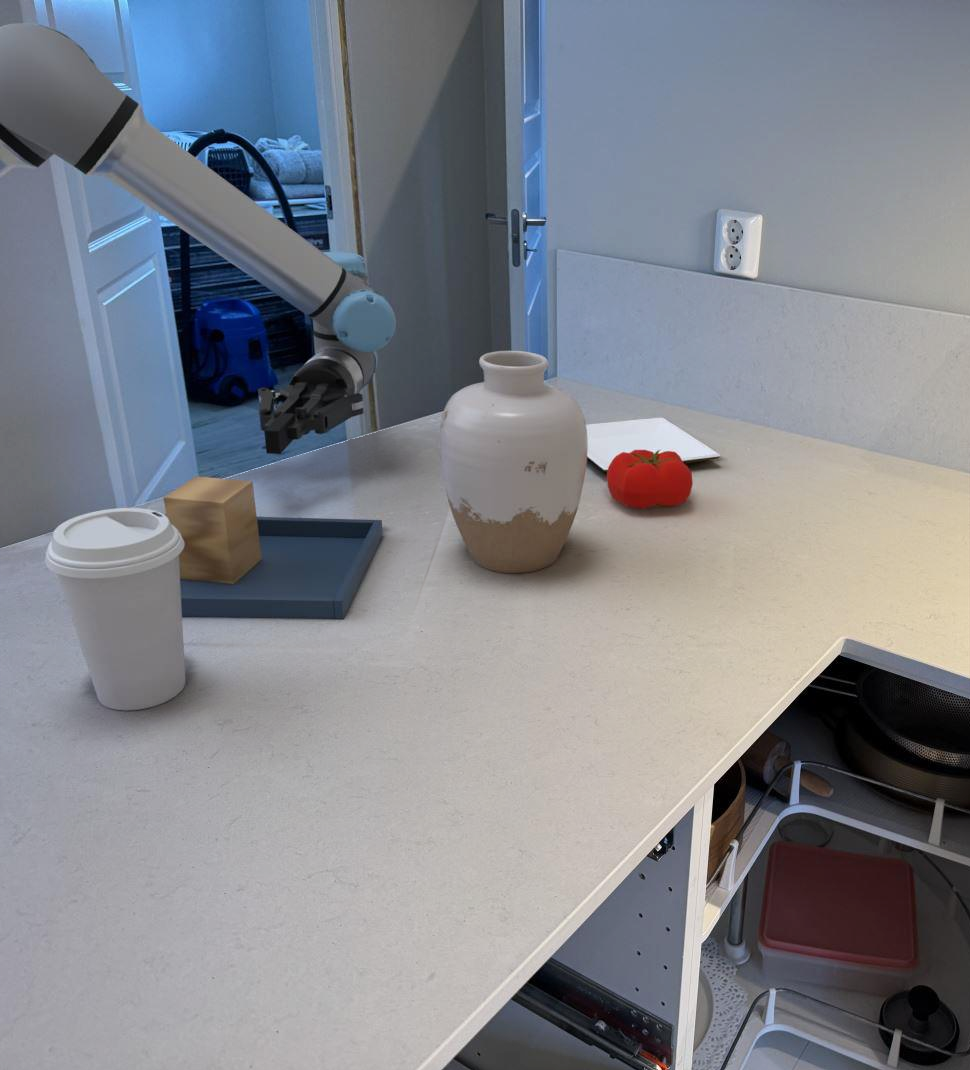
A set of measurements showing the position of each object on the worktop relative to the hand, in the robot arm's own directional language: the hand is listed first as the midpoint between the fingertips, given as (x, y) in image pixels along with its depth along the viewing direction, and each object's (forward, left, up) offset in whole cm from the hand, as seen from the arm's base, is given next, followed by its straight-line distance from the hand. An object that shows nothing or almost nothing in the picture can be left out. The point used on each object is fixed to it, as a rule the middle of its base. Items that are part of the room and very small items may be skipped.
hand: (272, 442), depth 111 cm
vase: (+27, -6, -11) cm, 30 cm away
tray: (0, -13, -10) cm, 16 cm away
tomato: (+43, +11, -11) cm, 46 cm away
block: (-3, -12, -10) cm, 16 cm away
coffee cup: (-2, -34, -11) cm, 36 cm away
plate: (+42, +30, -11) cm, 53 cm away
